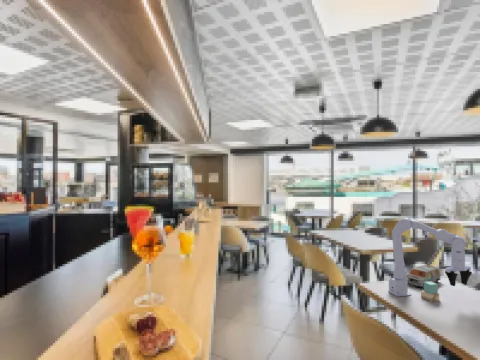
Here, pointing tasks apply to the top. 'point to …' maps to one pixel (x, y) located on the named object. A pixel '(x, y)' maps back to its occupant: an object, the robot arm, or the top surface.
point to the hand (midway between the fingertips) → (458, 284)
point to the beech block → (430, 296)
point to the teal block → (430, 287)
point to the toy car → (423, 275)
